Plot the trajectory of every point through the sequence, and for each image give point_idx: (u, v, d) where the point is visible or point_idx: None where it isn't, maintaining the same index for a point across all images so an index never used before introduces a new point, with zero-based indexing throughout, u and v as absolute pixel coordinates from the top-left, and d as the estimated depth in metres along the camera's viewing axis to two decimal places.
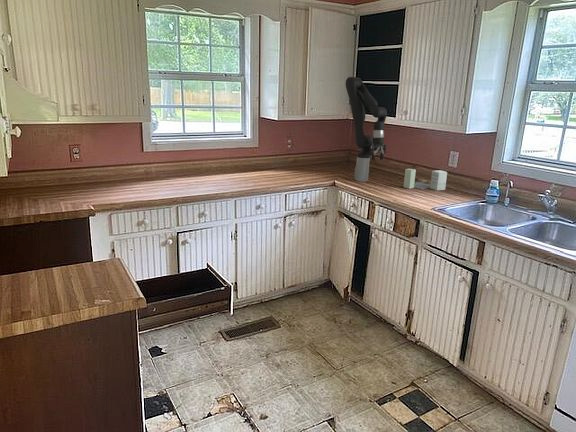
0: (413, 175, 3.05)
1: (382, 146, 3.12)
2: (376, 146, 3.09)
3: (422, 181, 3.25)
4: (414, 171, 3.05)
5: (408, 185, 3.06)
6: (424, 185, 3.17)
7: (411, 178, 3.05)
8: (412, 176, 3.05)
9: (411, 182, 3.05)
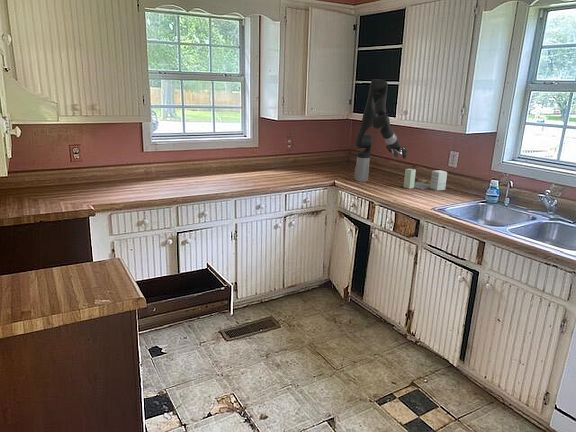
0: (413, 175, 3.05)
1: (398, 148, 2.87)
2: None
3: (422, 181, 3.25)
4: (414, 171, 3.05)
5: (408, 185, 3.06)
6: (424, 185, 3.17)
7: (411, 178, 3.05)
8: (412, 176, 3.05)
9: (411, 182, 3.05)
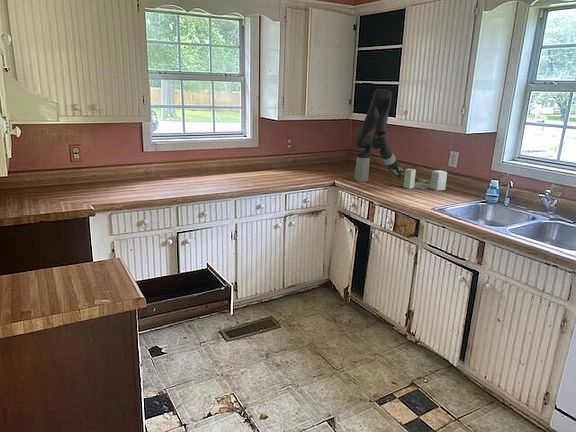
0: (413, 175, 3.05)
1: (397, 169, 2.91)
2: None
3: (422, 181, 3.25)
4: (414, 171, 3.05)
5: (408, 185, 3.06)
6: (424, 185, 3.17)
7: (411, 178, 3.05)
8: (412, 176, 3.05)
9: (411, 182, 3.05)
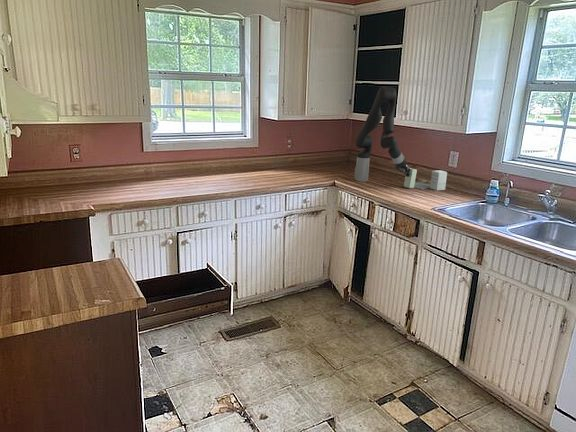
0: (414, 175, 3.06)
1: (405, 167, 2.97)
2: None
3: (422, 181, 3.25)
4: (415, 171, 3.05)
5: (408, 184, 3.06)
6: (424, 185, 3.17)
7: (412, 177, 3.05)
8: (413, 175, 3.05)
9: (411, 181, 3.06)
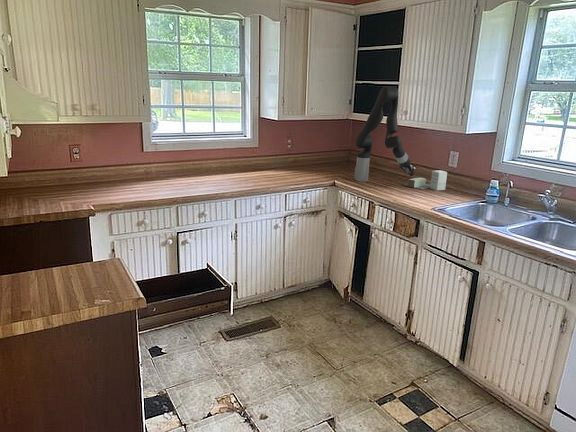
0: (422, 183, 3.14)
1: (409, 167, 2.99)
2: (402, 166, 3.04)
3: None
4: (424, 183, 3.16)
5: (415, 179, 3.10)
6: None
7: (420, 181, 3.12)
8: (421, 182, 3.13)
9: (418, 181, 3.11)
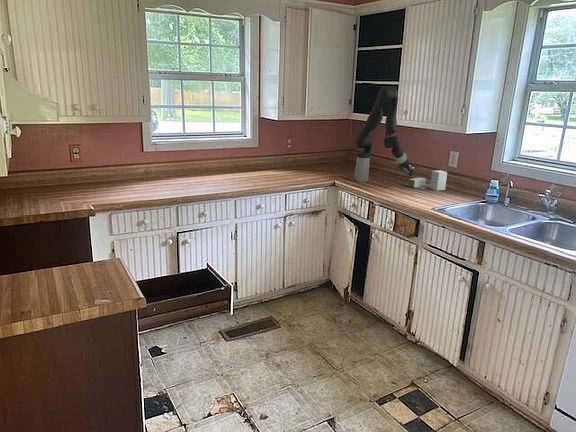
0: (422, 183, 3.14)
1: (408, 167, 2.98)
2: (401, 166, 3.03)
3: None
4: (424, 183, 3.16)
5: (415, 179, 3.10)
6: None
7: (420, 181, 3.12)
8: (421, 182, 3.13)
9: (418, 181, 3.11)
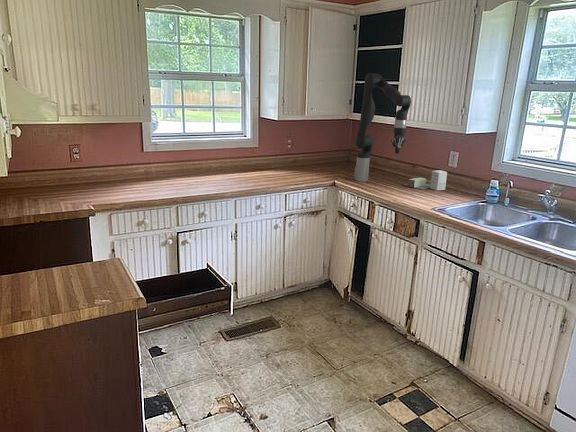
0: (422, 183, 3.14)
1: (403, 137, 2.93)
2: (397, 139, 2.89)
3: None
4: (424, 183, 3.16)
5: (415, 179, 3.10)
6: None
7: (420, 181, 3.12)
8: (421, 182, 3.13)
9: (418, 181, 3.11)
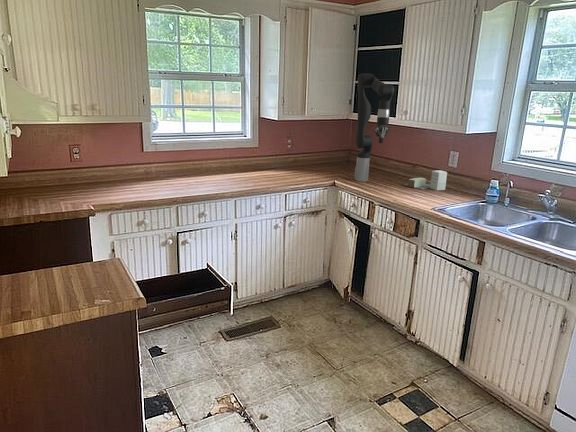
0: (422, 183, 3.14)
1: (386, 127, 2.92)
2: (380, 128, 2.88)
3: None
4: (424, 183, 3.16)
5: (415, 179, 3.10)
6: None
7: (420, 181, 3.12)
8: (421, 182, 3.13)
9: (418, 181, 3.11)
